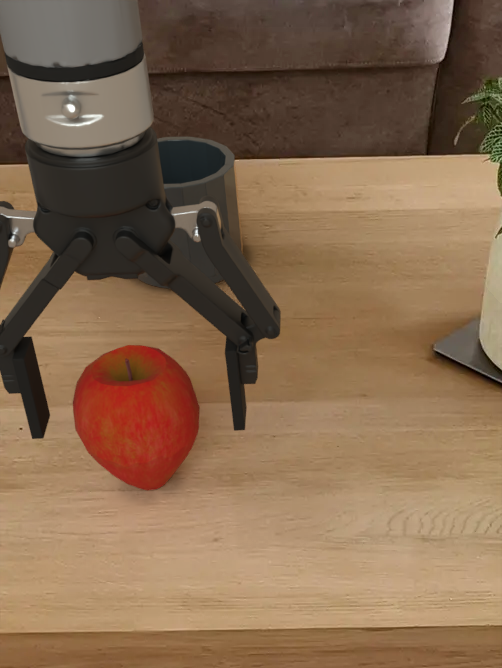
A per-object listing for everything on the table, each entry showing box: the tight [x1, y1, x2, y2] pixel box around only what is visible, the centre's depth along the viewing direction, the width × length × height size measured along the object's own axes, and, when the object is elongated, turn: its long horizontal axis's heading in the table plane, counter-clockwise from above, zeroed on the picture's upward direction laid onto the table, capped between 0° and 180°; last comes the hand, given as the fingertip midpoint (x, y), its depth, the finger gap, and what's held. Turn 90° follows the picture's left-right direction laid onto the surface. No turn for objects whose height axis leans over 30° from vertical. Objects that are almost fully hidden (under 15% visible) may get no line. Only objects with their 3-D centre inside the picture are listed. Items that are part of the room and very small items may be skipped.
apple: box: [72, 344, 201, 491], centre depth 81 cm, size 9×8×11 cm
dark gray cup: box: [137, 136, 244, 290], centre depth 107 cm, size 11×11×10 cm
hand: (141, 423), depth 81 cm, fingers open, 13 cm apart
